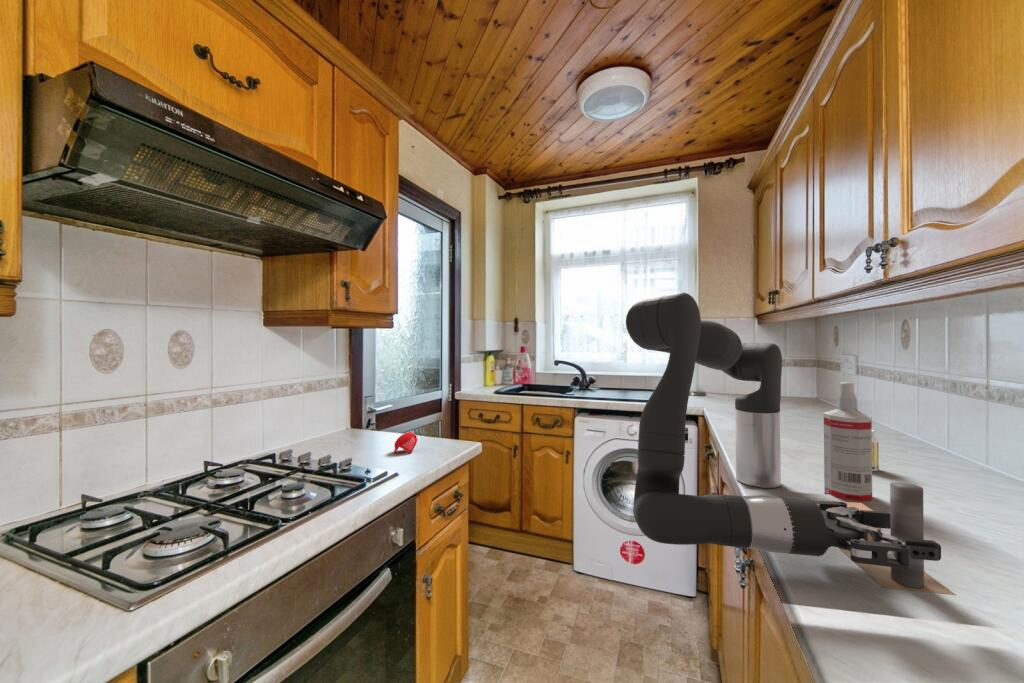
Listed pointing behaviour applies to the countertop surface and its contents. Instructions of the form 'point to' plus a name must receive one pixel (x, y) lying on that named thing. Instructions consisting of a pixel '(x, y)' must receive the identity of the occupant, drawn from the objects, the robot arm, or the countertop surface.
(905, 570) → the pull strip
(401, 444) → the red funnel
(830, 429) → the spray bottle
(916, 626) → the countertop surface
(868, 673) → the countertop surface
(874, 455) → the supplement bottle
